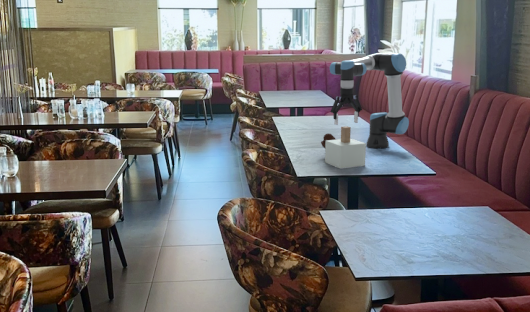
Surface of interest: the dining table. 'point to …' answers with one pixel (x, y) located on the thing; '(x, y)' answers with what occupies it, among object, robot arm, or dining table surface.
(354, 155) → the white box with knob
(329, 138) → the ice cream bowl
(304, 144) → the dining table surface
